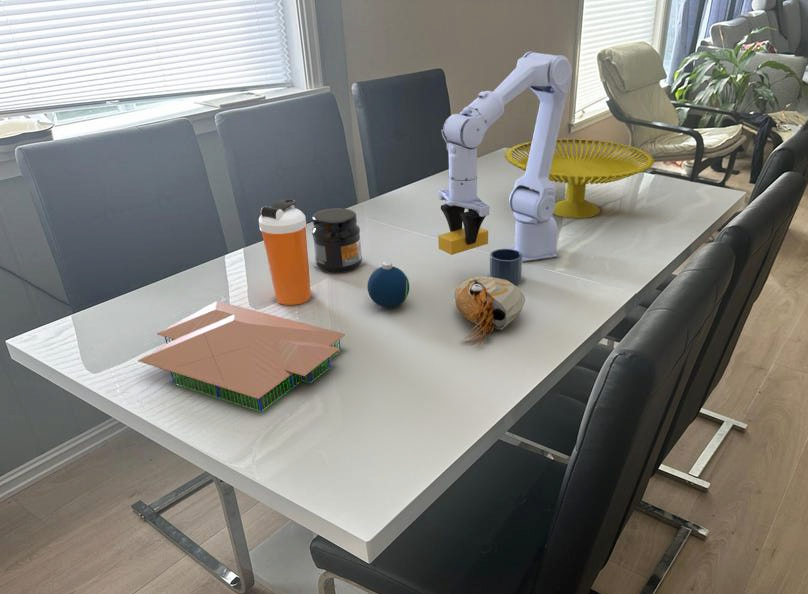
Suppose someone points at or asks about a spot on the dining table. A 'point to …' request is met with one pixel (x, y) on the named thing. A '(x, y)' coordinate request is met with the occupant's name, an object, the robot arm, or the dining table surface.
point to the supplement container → (336, 240)
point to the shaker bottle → (286, 251)
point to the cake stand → (584, 171)
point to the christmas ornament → (388, 286)
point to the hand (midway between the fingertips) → (463, 240)
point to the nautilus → (488, 303)
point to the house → (243, 351)
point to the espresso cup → (506, 265)
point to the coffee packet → (460, 241)
